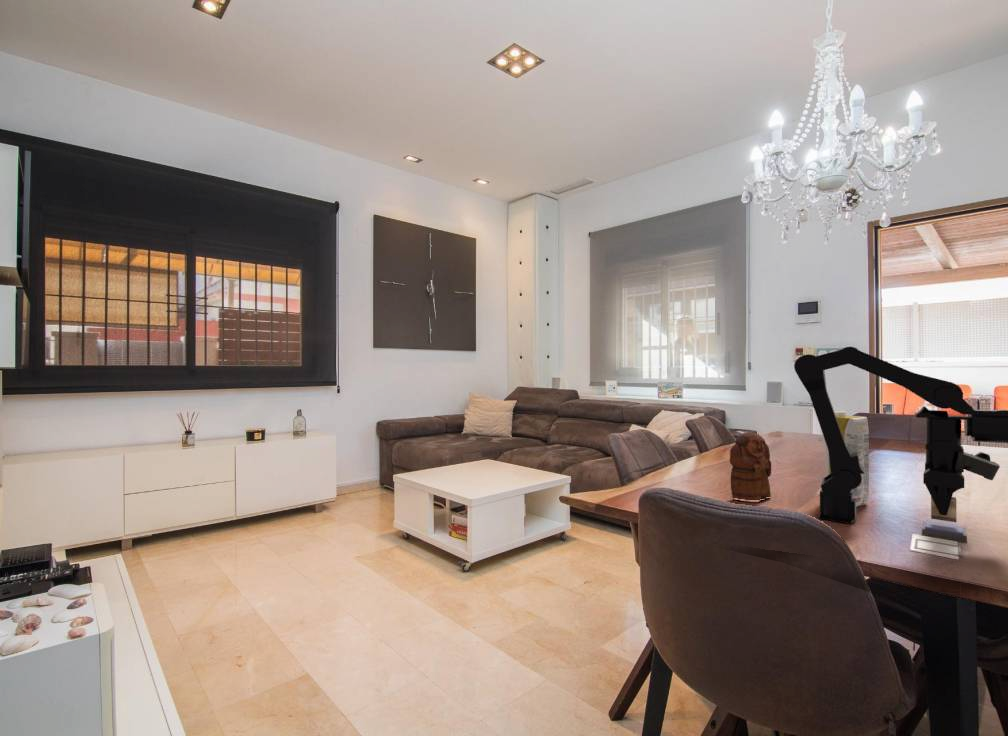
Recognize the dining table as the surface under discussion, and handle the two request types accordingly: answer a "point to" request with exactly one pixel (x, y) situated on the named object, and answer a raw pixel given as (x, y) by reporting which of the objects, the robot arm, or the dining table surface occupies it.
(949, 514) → the stamp
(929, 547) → the white rectangular plate
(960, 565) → the dining table surface
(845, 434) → the juice carton
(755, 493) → the wooden figurine
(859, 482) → the robot arm
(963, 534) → the pad
